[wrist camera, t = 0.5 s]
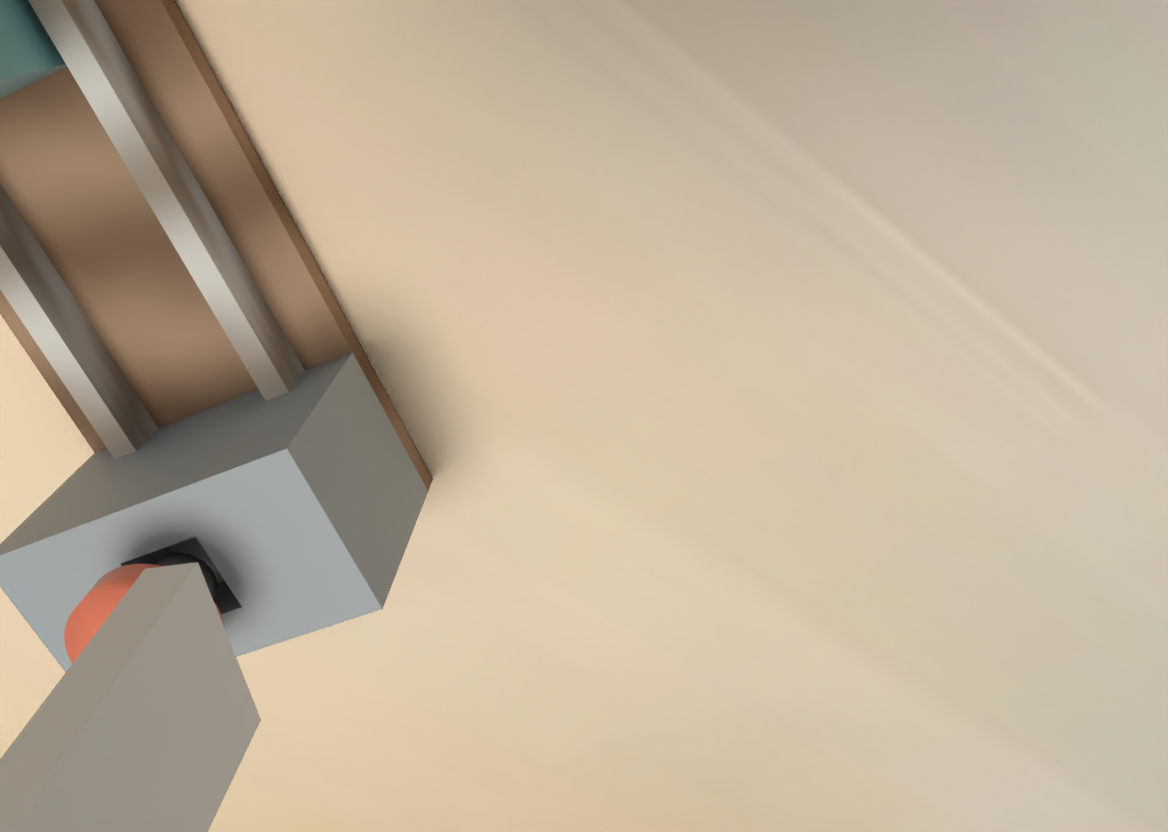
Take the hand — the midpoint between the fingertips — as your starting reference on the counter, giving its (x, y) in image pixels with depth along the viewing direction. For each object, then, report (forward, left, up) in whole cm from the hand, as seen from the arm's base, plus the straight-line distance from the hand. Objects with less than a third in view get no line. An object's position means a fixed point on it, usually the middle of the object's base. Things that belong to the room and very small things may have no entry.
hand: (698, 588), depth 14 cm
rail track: (-5, -20, -26) cm, 33 cm away
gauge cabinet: (+5, -20, -26) cm, 33 cm away
